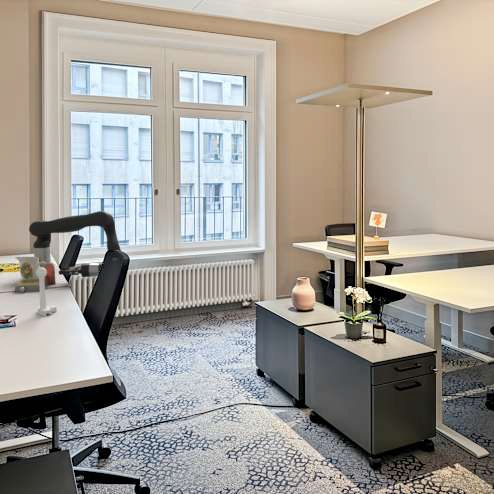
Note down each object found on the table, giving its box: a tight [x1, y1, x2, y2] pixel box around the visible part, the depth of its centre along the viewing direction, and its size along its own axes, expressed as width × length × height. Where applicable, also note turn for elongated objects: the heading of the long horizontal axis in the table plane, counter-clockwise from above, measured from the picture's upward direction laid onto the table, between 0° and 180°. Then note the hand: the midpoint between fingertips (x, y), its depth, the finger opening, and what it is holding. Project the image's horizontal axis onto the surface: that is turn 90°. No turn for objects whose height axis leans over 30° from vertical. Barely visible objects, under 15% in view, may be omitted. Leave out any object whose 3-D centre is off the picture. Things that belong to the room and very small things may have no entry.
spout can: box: [44, 258, 57, 286], centre depth 284 cm, size 6×6×15 cm
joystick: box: [36, 267, 57, 317], centre depth 221 cm, size 11×8×20 cm
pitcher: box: [14, 256, 46, 280], centre depth 295 cm, size 11×18×14 cm, turn 93°
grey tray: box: [14, 278, 49, 293], centre depth 270 cm, size 16×14×4 cm
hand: (60, 271), depth 285 cm, fingers open, 8 cm apart
